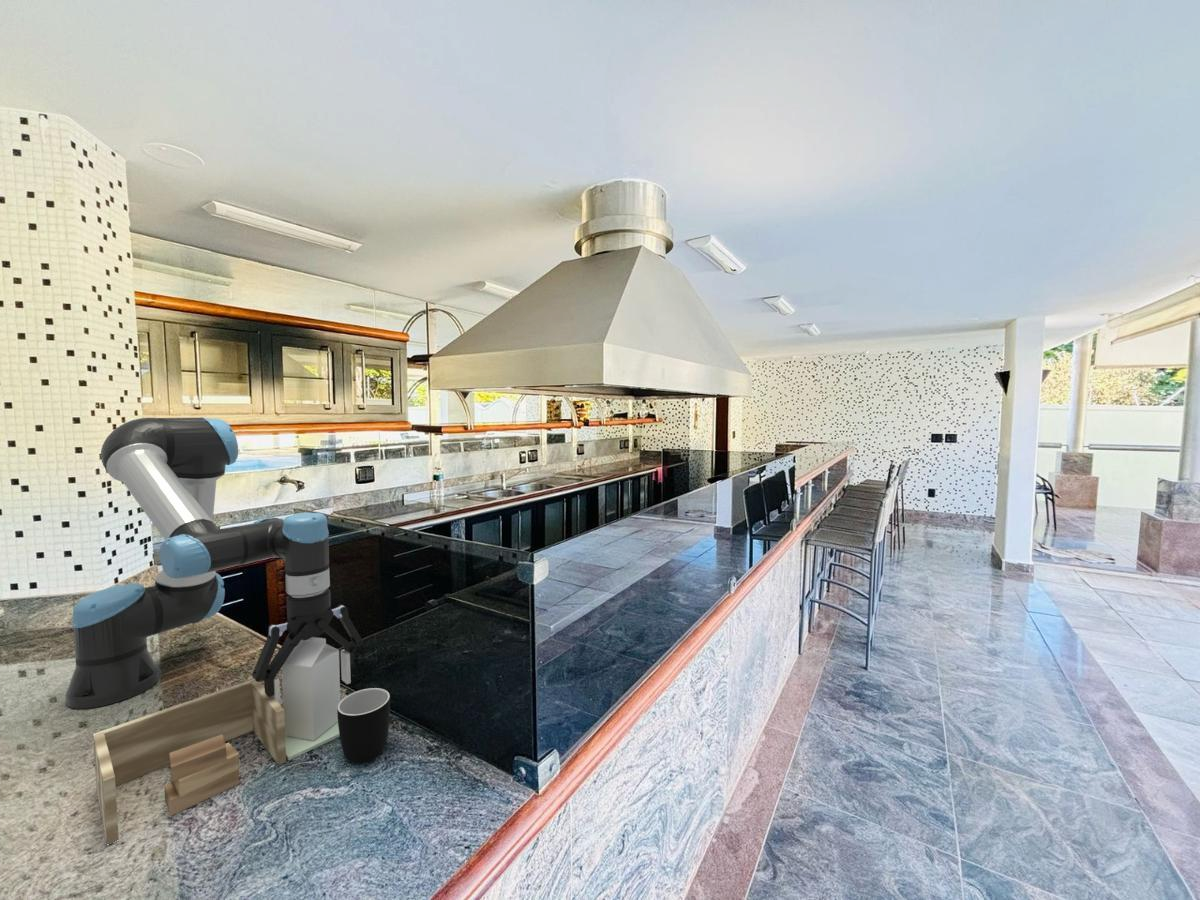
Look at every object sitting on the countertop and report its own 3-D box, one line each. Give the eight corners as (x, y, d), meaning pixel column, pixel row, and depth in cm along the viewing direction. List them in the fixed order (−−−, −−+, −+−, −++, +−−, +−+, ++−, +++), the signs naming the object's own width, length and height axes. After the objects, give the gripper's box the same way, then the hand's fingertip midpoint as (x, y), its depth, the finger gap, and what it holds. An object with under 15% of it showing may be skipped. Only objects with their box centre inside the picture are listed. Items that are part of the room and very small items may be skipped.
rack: (96, 790, 82) (93, 733, 81) (258, 724, 100) (256, 678, 99) (107, 846, 71) (103, 781, 71) (286, 761, 89) (284, 709, 88)
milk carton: (314, 741, 94) (311, 646, 92) (283, 736, 95) (280, 642, 94) (341, 719, 101) (338, 631, 99) (312, 714, 102) (309, 627, 101)
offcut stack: (164, 799, 80) (162, 755, 80) (232, 769, 87) (230, 728, 87) (171, 817, 76) (168, 771, 76) (241, 783, 84) (239, 741, 83)
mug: (401, 746, 93) (400, 696, 93) (357, 775, 86) (356, 721, 85) (362, 726, 99) (361, 679, 99) (319, 752, 92) (317, 700, 91)
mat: (267, 733, 97) (267, 730, 97) (331, 706, 106) (331, 703, 106) (288, 760, 89) (288, 757, 89) (355, 729, 98) (355, 726, 98)
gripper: (240, 615, 84) (246, 732, 86) (378, 579, 103) (381, 676, 105) (228, 604, 89) (234, 716, 91) (362, 572, 108) (365, 664, 109)
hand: (313, 695), depth 98 cm, fingers open, 12 cm apart
